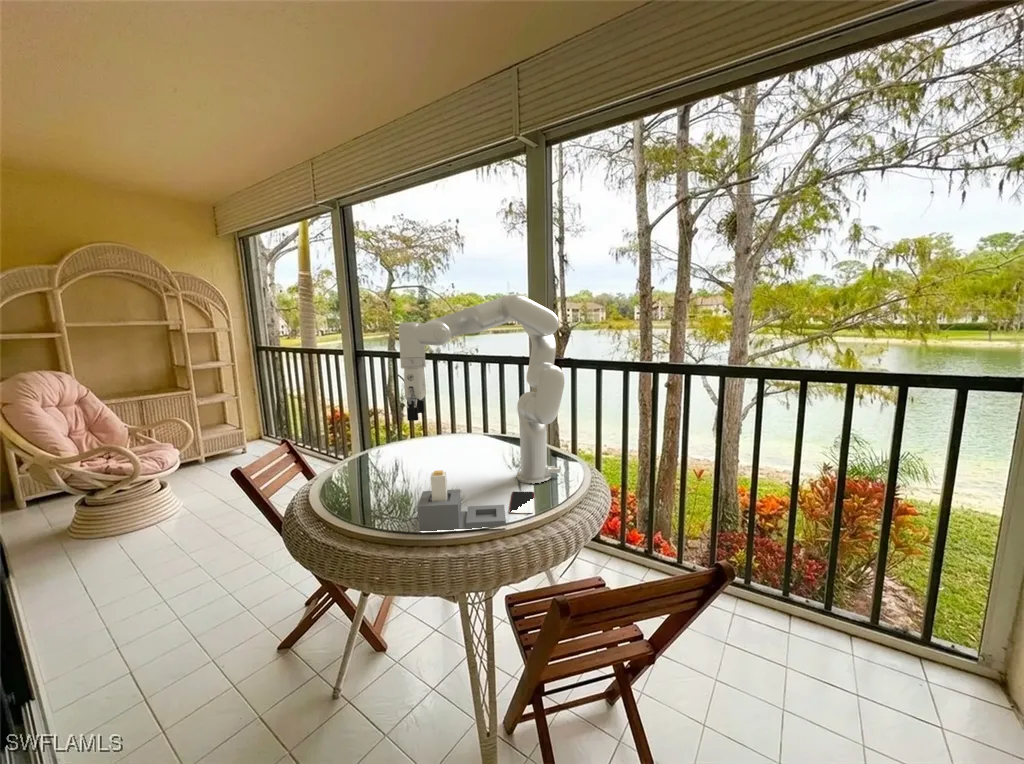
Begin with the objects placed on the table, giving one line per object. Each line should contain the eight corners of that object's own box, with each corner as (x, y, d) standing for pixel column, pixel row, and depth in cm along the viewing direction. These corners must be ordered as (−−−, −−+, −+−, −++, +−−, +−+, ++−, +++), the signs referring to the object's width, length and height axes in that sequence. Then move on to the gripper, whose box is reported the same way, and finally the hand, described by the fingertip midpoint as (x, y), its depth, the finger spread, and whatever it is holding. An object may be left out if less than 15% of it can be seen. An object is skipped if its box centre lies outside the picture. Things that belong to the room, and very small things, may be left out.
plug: (447, 498, 122) (446, 469, 121) (446, 503, 119) (444, 473, 118) (433, 498, 122) (431, 469, 121) (432, 503, 119) (430, 474, 117)
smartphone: (534, 491, 141) (533, 512, 126) (534, 494, 141) (533, 515, 126) (512, 491, 142) (509, 511, 127) (512, 493, 142) (509, 514, 127)
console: (504, 512, 128) (503, 487, 126) (506, 528, 118) (505, 502, 117) (424, 516, 126) (422, 491, 125) (419, 533, 116) (417, 506, 115)
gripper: (419, 365, 122) (423, 423, 125) (430, 359, 139) (432, 410, 142) (393, 366, 122) (397, 423, 125) (407, 359, 139) (410, 410, 142)
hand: (416, 416), depth 133 cm, fingers open, 9 cm apart
